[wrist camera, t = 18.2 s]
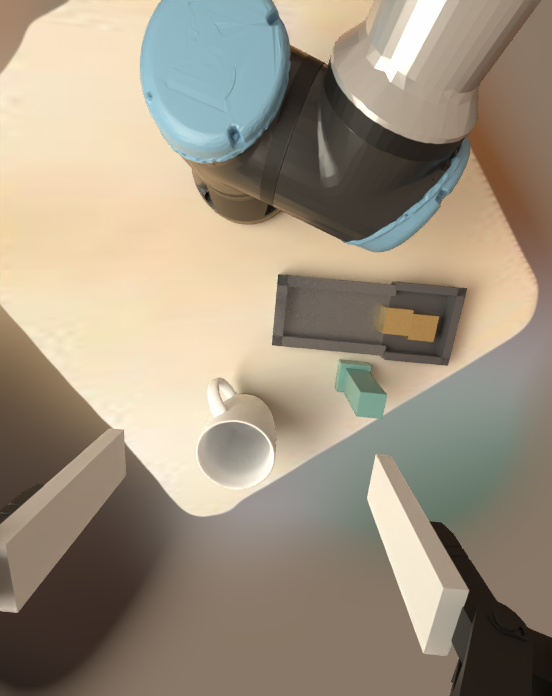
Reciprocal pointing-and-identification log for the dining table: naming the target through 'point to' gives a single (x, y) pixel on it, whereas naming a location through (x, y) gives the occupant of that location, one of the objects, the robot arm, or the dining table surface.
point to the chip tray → (427, 302)
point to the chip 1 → (395, 320)
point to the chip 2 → (423, 327)
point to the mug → (236, 439)
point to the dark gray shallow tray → (330, 314)
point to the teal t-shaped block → (360, 389)
